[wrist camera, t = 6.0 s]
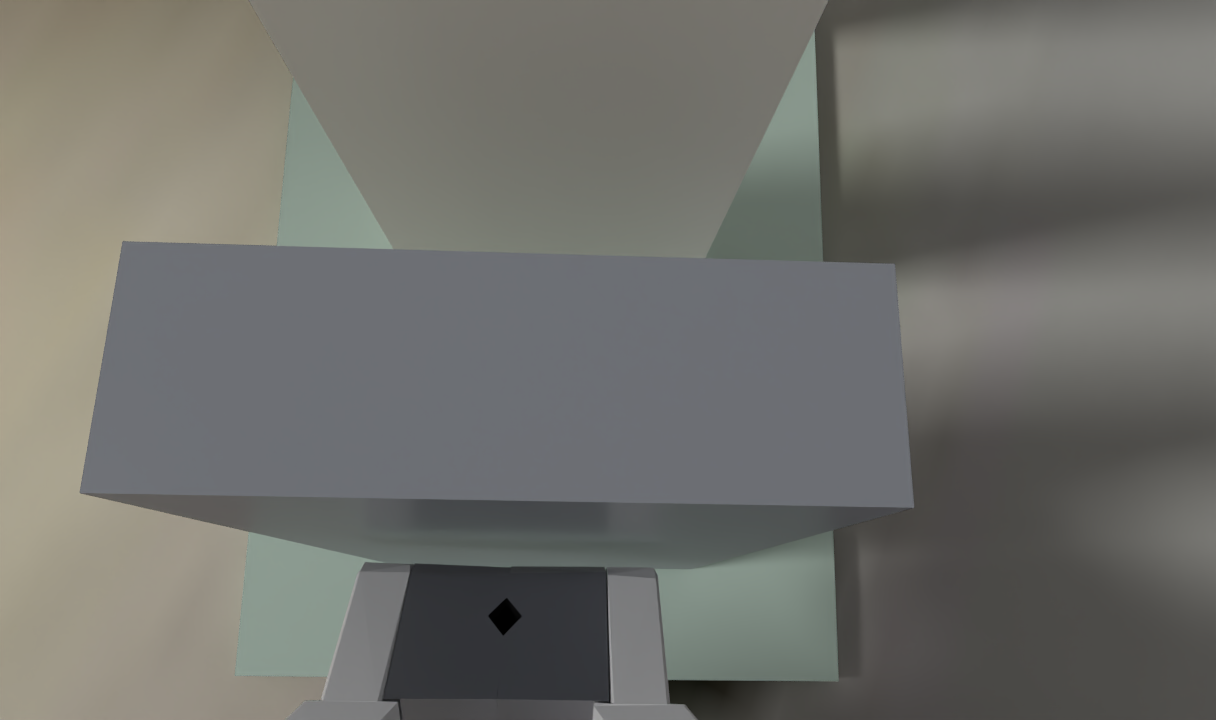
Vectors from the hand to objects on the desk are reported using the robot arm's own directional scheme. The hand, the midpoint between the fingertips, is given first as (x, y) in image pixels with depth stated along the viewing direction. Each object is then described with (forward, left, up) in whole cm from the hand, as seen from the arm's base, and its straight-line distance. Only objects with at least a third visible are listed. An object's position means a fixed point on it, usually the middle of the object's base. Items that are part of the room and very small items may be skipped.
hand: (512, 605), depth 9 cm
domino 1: (+4, +4, -6) cm, 8 cm away
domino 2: (+1, +1, -6) cm, 6 cm away
